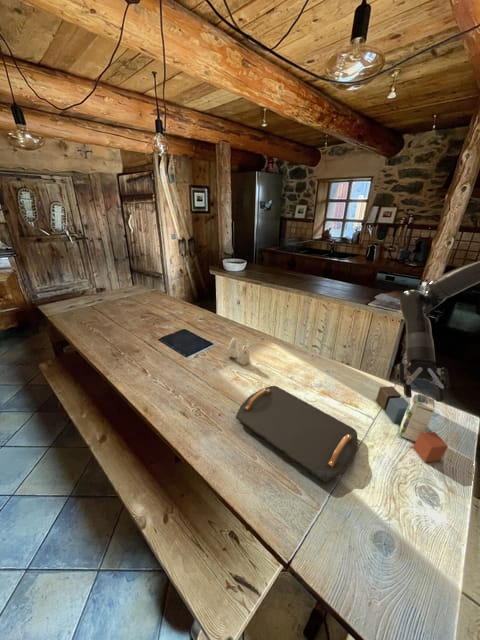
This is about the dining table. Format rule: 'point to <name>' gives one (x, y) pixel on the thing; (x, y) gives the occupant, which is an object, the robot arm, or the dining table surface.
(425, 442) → the terracotta block
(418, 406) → the syrup box
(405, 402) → the slate blue block
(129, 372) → the dining table surface
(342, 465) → the serving tray
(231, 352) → the shaker set
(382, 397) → the walnut block
